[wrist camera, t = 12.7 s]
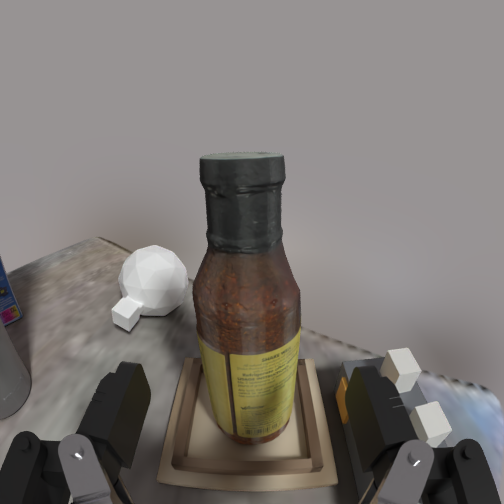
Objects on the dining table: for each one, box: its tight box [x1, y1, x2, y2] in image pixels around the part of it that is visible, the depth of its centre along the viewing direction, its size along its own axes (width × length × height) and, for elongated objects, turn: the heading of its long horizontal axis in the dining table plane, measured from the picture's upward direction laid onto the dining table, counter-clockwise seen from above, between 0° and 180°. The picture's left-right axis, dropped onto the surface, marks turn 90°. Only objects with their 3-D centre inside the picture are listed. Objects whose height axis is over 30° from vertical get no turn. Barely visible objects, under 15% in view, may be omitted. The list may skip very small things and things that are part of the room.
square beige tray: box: [156, 357, 338, 491], centre depth 21 cm, size 13×14×2 cm
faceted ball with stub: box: [112, 245, 189, 331], centre depth 33 cm, size 9×9×12 cm
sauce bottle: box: [192, 152, 301, 445], centre depth 17 cm, size 6×6×20 cm
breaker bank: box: [334, 348, 452, 504], centre depth 14 cm, size 6×18×6 cm, turn 0°
